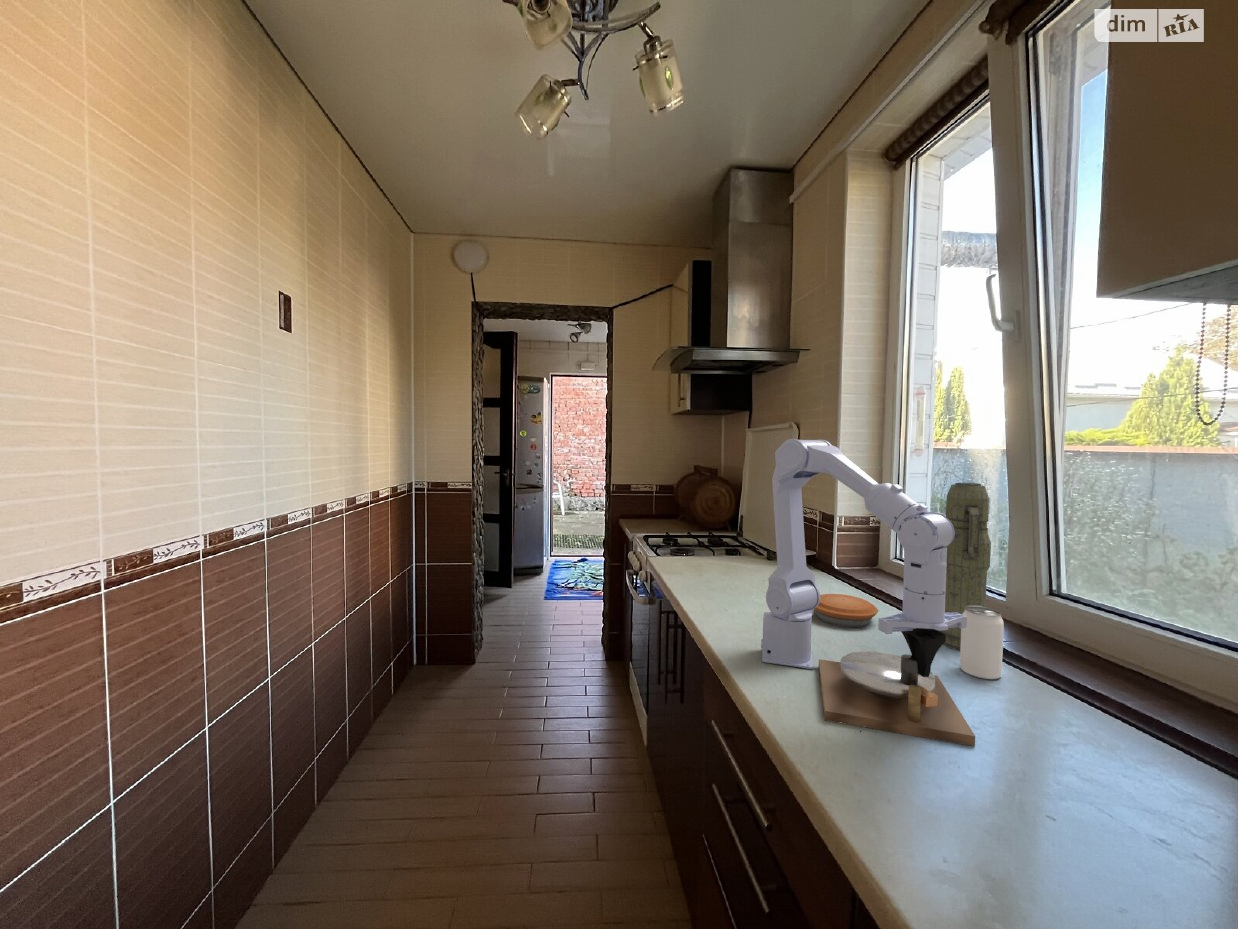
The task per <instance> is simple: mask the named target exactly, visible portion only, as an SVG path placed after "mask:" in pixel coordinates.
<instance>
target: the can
mask: <svg viewBox="0 0 1238 929" xmlns="http://www.w3.org/2000/svg"><path fill="white" fill-rule="evenodd" d="M962 615H964V616H967V628H963V629H962V628H961V648H960V650H959V651H960V652H959V656H960V657H959V668H960V670H962V672H963V673H965V674H967V675H969V676H971V677H973V678H977V679H982V680H988V681H989V680H990V681H994V680H998V679H1000V678H1001V677H1002V674H1003V672H1002V670H1003V649H1004V630H1005V629H1004V628H1005V627H1004V625H1005V624H1004V619H1003V618H1002V612H1000V611H999V610H996V609H993V608H990V607H981V606H966V607H965V611H964V613H963V614H962Z"/></svg>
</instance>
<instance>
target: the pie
mask: <svg viewBox="0 0 1238 929" xmlns="http://www.w3.org/2000/svg"><path fill="white" fill-rule="evenodd" d="M814 611H815V613H816V616H817V617H818V618H819V619H820V620H821V621H823V622H825V623H827V624H830V625H834V626H838V627H845V628H862V627H865V626H867V625H868V624H869V623H870V622H871V621H872V619H873V618H874V617H875V616H877V614H878V612H879V611H880V610H879V609H878V608H877V607H876V606H875V605H874V604H873V603H871V602H870V601H868V600H866V599H863V598H860V597H859V596H858V597H857V596H854V595H849V594H848V595H847V594H842V593H841V594H840V593H826V594H823V593H822V594H820V603H819V605H818V606H817V607H816V608H815V609H814Z"/></svg>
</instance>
